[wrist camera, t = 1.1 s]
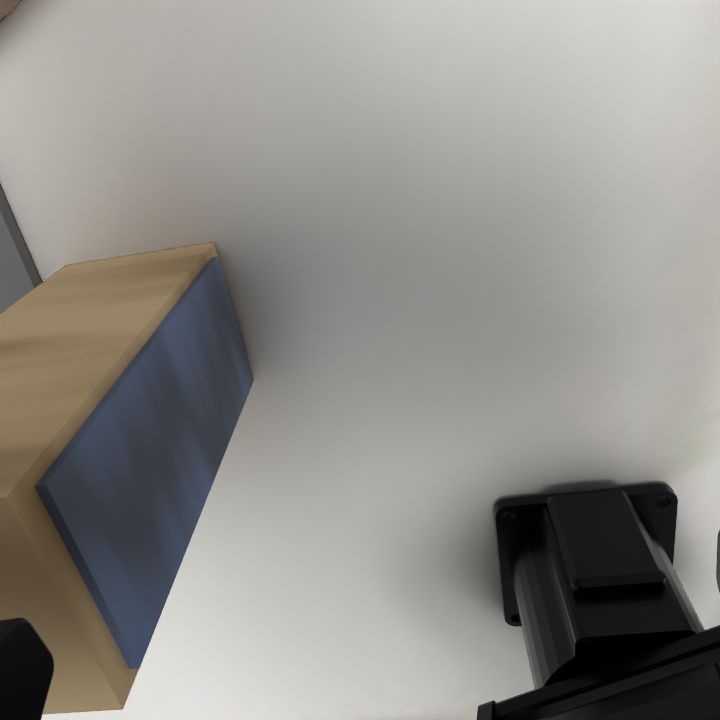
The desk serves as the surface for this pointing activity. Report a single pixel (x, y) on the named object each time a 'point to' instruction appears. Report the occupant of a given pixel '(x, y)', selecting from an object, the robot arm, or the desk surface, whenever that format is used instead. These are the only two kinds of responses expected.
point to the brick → (7, 7)
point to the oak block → (111, 453)
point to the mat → (14, 260)
